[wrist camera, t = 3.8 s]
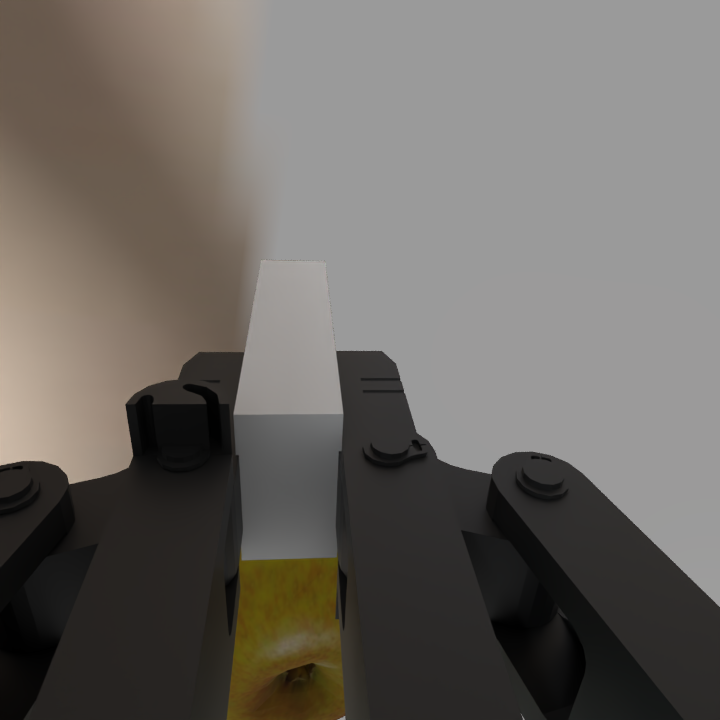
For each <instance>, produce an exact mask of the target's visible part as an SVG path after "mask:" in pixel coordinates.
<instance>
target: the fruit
mask: <svg viewBox="0 0 720 720" xmlns="http://www.w3.org/2000/svg"><path fill="white" fill-rule="evenodd" d="M337 571H338V552H337V557H334V558H302V559H270V560H242V554H241V551H240V560H239V573H240V598H239V607H238V617H237V626H236V636H235V645H234V655H233V664H232V674H231V683H230V693H229V702H228V712H227V720H337V719H339V718H341V717H343V716H345V701H344V686H343V671H342V655H341V640H340V625H339V619H335V614H336V593H337Z"/></svg>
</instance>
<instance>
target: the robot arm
mask: <svg viewBox="0 0 720 720" xmlns="http://www.w3.org/2000/svg"><path fill="white" fill-rule="evenodd" d="M125 405H126V411H127V418H128V424H129V431H130V437H131V443H132V450H133V458H132V461H131V463H130V466H129V468H127V469H125V470H122V471H120V472H118V473H115V474H112V475H108V476H105V477H101V478H97V479H92V480H88V481H83V482H79V483H74V484H70V485H69V482H68V478H67V475H66V474H65V473H64V472H63V471H62V470H61V469H60V468H59V467H58V466H56V465H52V464H49V463H46V462H43V461H21V462H16V463H11V464H6V465H1V466H0V720H227V712H228V702H229V693H230V683H231V674H232V664H233V655H234V645H235V636H236V626H237V617H238V607H239V598H240V573H239V560H240V551H241V554H242V560H270V559H302V558H334V557H337V552H338V571H337V593H336V614H335V619H339V625H340V640H341V655H342V671H343V686H344V701H345V716H346V720H523V718H522V716H523V717H524V719H525V720H720V607H719V606H718V605H717V604H716V603H715V602H714V601H713V600H712V599H711V598H710V597H709V596H708V595H707V594H706V593H705V592H704V591H702V590H701V588H699V587H698V586H697V585H696V584H695V583H694V582H693V581H692V580H691V579H690V578H689V577H688V576H687V575H686V574H685V573H684V572H683V571H682V570H681V569H680V568H679V567H678V566H677V565H676V564H675V563H674V562H673V561H672V560H671V559H670V558H669V557H668V556H667V555H666V554H665V553H664V552H663V551H661V550H660V549H659V548H658V547H657V546H656V545H655V544H654V543H653V542H652V541H651V540H650V539H649V538H648V537H647V536H646V535H645V534H644V533H643V532H642V531H641V530H640V529H639V528H638V527H637V526H636V525H635V524H633V522H632V521H630V519H628V517H627V516H626V515H624V514H623V513H622V512H621V511H620V510H619V509H618V508H617V507H616V506H615V505H614V504H613V503H612V502H611V501H610V500H609V499H608V498H607V497H606V496H605V495H604V494H603V493H602V492H601V491H600V490H599V489H598V488H597V487H596V486H595V485H594V484H593V483H592V482H591V481H590V480H589V479H588V478H587V477H585V476H584V475H583V474H582V473H581V472H580V471H578V470H577V469H576V468H574V467H573V466H572V465H570V464H569V463H567V462H565V461H563V460H560V459H558V458H555V457H553V456H551V455H546V454H540V453H536V452H515V453H512V454H509V455H506V456H503V457H501V458H500V459H499V460H498V461H497V462H496V464H494V466H493V470H492V474H487V473H482V472H477V471H472V470H466V469H463V468H459V467H455V466H452V465H449V464H447V463H445V462H443V461H440V460H439V459H437V456H436V453H435V451H434V449H433V447H432V446H431V445H430V443H429V441H427V440H426V439H424V438H423V437H422V436H420V435H419V434H417V433H416V429H415V426H414V422H413V419H412V416H411V412H410V409H409V406H408V403H407V399H406V396H405V394H404V389H403V386H402V382H401V381H400V376H399V373H398V369H397V366H396V363H394V362H393V361H392V360H391V359H390V358H389V357H388V356H387V355H385V354H384V353H383V352H382V351H336V348H335V339H334V330H333V322H332V313H331V305H330V297H329V288H328V280H327V272H326V262H325V261H296V260H293V261H292V260H261V263H260V269H259V274H258V280H257V285H256V291H255V297H254V302H253V308H252V313H251V319H250V325H249V330H248V336H247V341H246V347H245V352H199V353H198V354H196V355H195V356H194V357H193V358H191V359H190V360H189V361H188V362H187V363H185V364H184V365H183V367H182V370H181V373H180V376H179V378H178V380H171V381H165V382H161V383H158V384H154V385H151V386H148V387H146V388H144V389H143V390H141V391H139V392H137V393H136V394H134V395H133V396H132V397H131V399H130V400H129V401H128V402H127V403H126V404H125ZM521 714H522V715H521Z"/></svg>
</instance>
